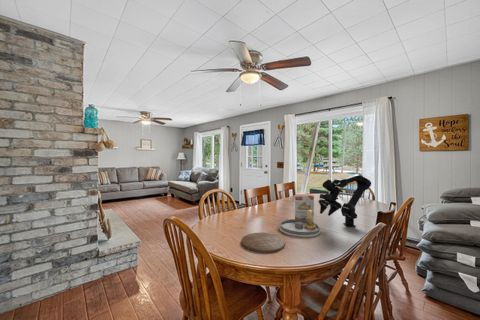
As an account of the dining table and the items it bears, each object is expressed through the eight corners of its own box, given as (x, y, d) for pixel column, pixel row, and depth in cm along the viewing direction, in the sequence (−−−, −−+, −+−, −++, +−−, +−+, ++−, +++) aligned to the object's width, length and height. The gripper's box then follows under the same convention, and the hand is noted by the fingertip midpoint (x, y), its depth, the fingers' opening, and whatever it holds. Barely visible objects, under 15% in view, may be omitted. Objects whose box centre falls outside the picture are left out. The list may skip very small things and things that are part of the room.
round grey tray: (277, 222, 156) (277, 216, 156) (314, 223, 153) (314, 217, 153) (281, 236, 129) (281, 229, 129) (325, 237, 126) (325, 230, 126)
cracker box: (294, 221, 158) (294, 194, 158) (295, 219, 164) (295, 193, 164) (313, 223, 154) (313, 195, 154) (313, 221, 160) (313, 194, 160)
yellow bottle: (306, 225, 145) (306, 208, 145) (316, 227, 141) (316, 210, 141) (303, 228, 139) (303, 211, 139) (314, 230, 135) (314, 212, 135)
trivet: (235, 238, 126) (235, 235, 126) (271, 233, 134) (271, 230, 134) (252, 256, 102) (252, 253, 102) (293, 249, 111) (293, 245, 111)
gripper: (317, 188, 152) (308, 207, 149) (332, 189, 134) (323, 210, 130) (328, 196, 153) (320, 214, 150) (346, 197, 135) (336, 218, 132)
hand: (324, 214), depth 140 cm, fingers open, 9 cm apart
